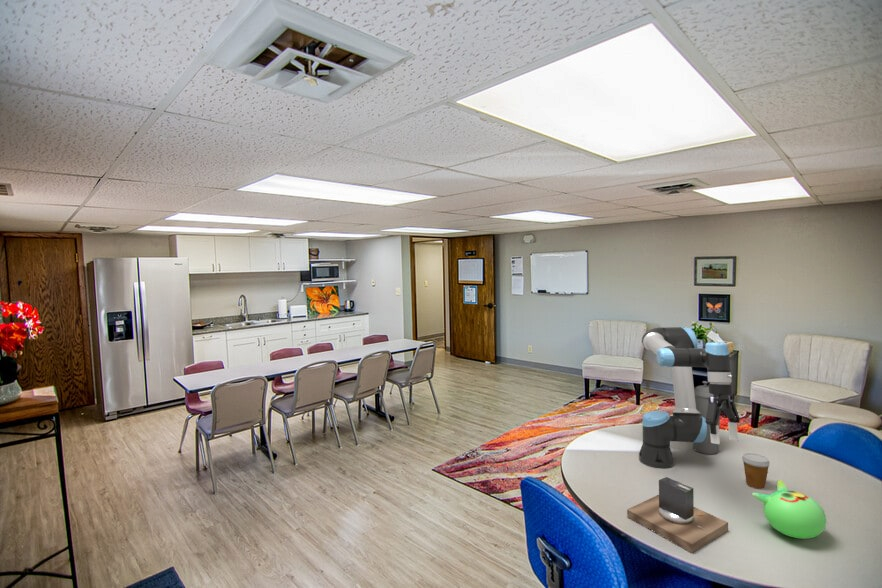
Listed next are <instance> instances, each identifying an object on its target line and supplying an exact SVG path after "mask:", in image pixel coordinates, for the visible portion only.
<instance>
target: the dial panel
mask: <svg viewBox="0 0 882 588" xmlns="http://www.w3.org/2000/svg"><path fill="white" fill-rule="evenodd" d="M626 516H627V518H628V519H630V520H631V519H632V521H634V522H635V521H636V522H635V523H636V524H638V525H640V524H641V525H640V526H642V525H644V526H645V527H644V526H643V527H644V528H646V527H647V528H646V529H648V528H649V529H651V530H653V531H655V532H656V533H655V532H654V533H655V534H657V533H658V534H660V535H662V536H663V537H662V536H661V537H662V538H664V537H665V538H664V539H666V538H667V539H668V540H667V539H666V540H667V541H669V540H670V541H669V542H671V541H672V542H671V543H673V544H674V545H676V544H677V546H678V545H679V546H678V547H680V548H682V549H684V550H685V549H686V551H687V550H688V553H691V554H693V553H694V551H695V552H696V551H698V550H699V549H701V548H703V547H704V546H706V545H707V544H709V543H711V542H712V541H714V540H716V539H717V538H718V537H720V536H722V535H724V534H725V533H726V532H728V531H729V522H728V521H726V520H723V519H721V518H719V517H717V516H715V515H713V514H711V513H708V512H706V511H704V510H703V509H700V508H697V507H696V506H694V520H693V522H692V523H689V524H677V523H673V522H670V521H668V520H666V519H664V518H663V517H662V516H661V515H660V514H659V494H657V495H655V496H652V497H651V498H648V499H646V500H644V501H642V502H639V503H638V504H636V505H633V506H631V507H629V508H628V509H626ZM649 529H648V530H649ZM651 530H650V531H651ZM653 531H652V532H653ZM658 534H657V535H658ZM660 535H659V536H660Z"/></svg>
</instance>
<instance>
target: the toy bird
mask: <svg viewBox="0 0 882 588" xmlns="http://www.w3.org/2000/svg"><path fill="white" fill-rule="evenodd" d="M751 495H752V497H753V498H754V499H757V500H758V501H760V502H761V503H763V512H764V513H763V514H764V517H765V518H766V520H767V522H768V523H769V524H770V525H771V527H773V528H774V529H775V530H776V531H778V532H779V533H781V534H783V535H785V536H787V537H791V538H795V539H803V540H805V539H813V538H816V537H818V536H819V535H821V534H822V533H823V531H824V530H825V528H826V525H827V516H826V512H825V511H824V509H823V507H822V506H821V505H820V504H819V503H818V502H817V500H815V499H814V498H812V497H811V496H809V495H807V494H804V493H802V492H799V491H796V490H795V491H794V490H789V489H788V487H787V486H786V484H785V482H784V481H783V480H781V479H778V480H777V484H776V491H774V492H773V493H770V494H765V493H759V492H752V493H751Z"/></svg>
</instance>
